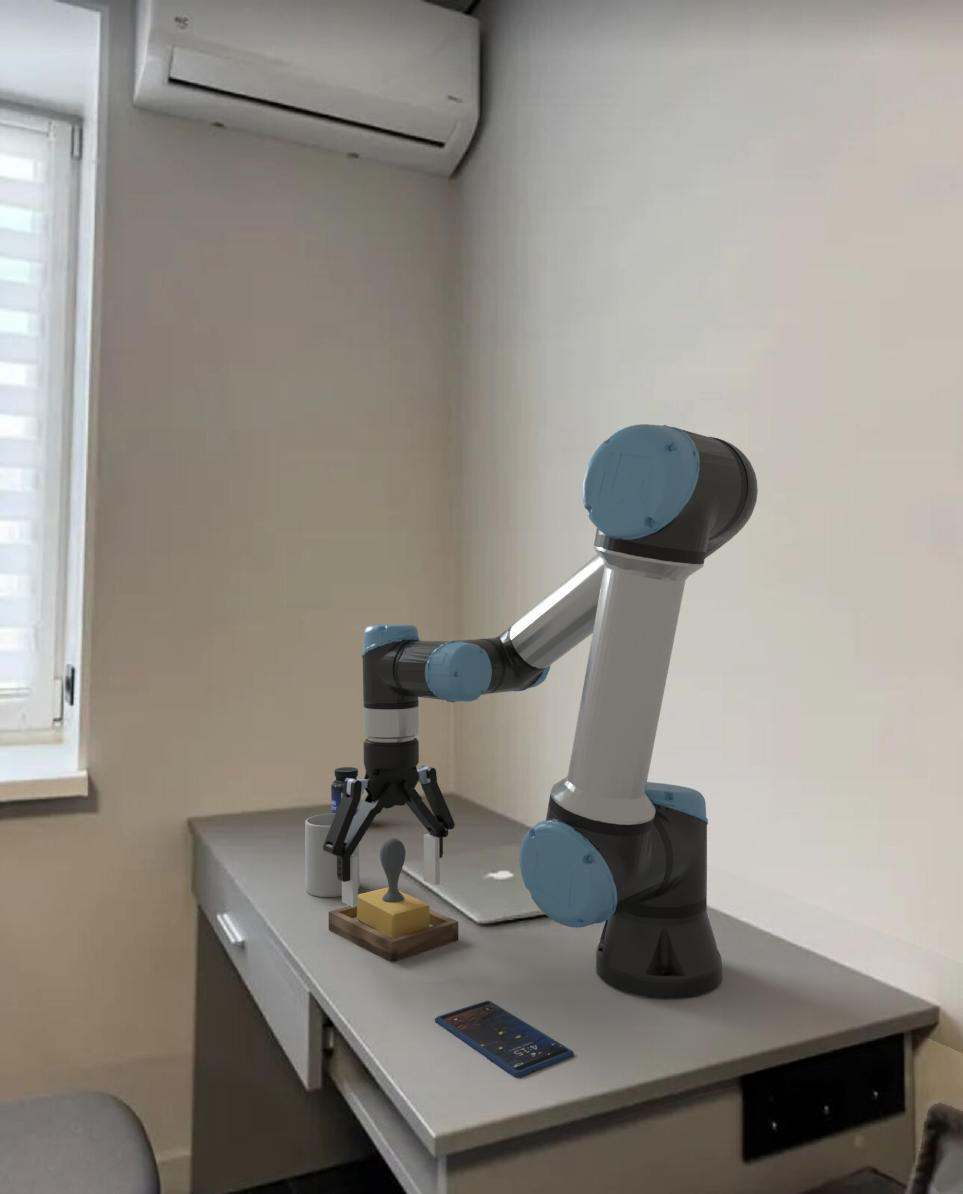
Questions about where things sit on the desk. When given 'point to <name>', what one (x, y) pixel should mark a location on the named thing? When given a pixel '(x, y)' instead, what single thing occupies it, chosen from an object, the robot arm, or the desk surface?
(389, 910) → the rubber stamp
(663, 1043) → the desk surface
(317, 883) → the mug
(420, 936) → the tray
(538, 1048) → the smartphone
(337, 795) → the pill bottle
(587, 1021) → the desk surface
